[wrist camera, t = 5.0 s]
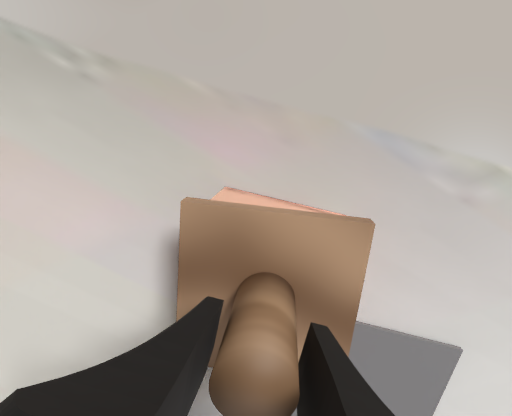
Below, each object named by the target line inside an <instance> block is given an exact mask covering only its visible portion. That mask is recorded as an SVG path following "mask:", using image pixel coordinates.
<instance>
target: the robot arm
mask: <svg viewBox="0 0 512 416" xmlns="http://www.w3.org/2000/svg"><path fill="white" fill-rule="evenodd" d="M223 302H224V300H222V299H218V298H214V297H210V296H207V297H206V298H204V299H203V300H202V301H201V302H200V303H199V304H198V305H197V306H195V307H194V308H193V309H192V310H191V311H189V312H188V313H187V314H186V315H184V316H183V317H182V318H181V319H179V320H178V321H177V322H175V323H174V324H173V325H171V326H170V327H168V328H167V329H165V330H164V331H162V332H161V333H159V334H158V335H156V336H155V337H153V338H152V339H150V340H148V341H147V342H145V343H143V344H141V345H139V346H138V347H136V348H134V349H132V350H130V351H128V352H126V353H124V354H122V355H119V356H117V357H115V358H113V359H110V360H108V361H106V362H104V363H101V364H99V365H96V366H93V367H91V368H88V369H85V370H82V371H80V372H77V373H74V374H71V375H68V376H64V377H61V378H58V379H54V380H50V381H47V382H43V383H39V384H36V385H32V386H28V387H24V388H20V389H17V390H16V391H14V392H13V393H12V394H11V395H10V396H8V397H7V398H6V399H5V400H4V401H2V402H1V403H0V416H187V415H188V412H189V410H190V408H191V406H192V403H193V401H194V399H195V396H196V394H197V392H198V389H199V387H200V385H201V382H202V380H203V378H204V375H205V373H206V370H207V367H208V364H209V361H210V357H211V354H212V351H213V348H214V344H215V339H216V335H217V330H218V325H219V321H220V316H221V311H222V307H223ZM298 370H299V392H300V395H299V402H298V405H297V416H395V415H394V414H393V413H392V411H391V410H390V409H389V408H388V407H387V406H386V405H385V404H384V403H383V402H382V400H381V399H380V398H379V397H378V396H377V394H376V393H375V392H374V391H373V390H372V388H371V387H370V386H369V385H368V383H367V382H366V381H365V379H364V378H363V377H362V376H361V374H360V373H359V372H358V370H357V369H356V367H355V366H354V365H353V363H352V362H351V360H350V359H349V358H348V356H347V355H346V353H345V352H344V350H343V349H342V347H341V346H340V344H339V343H338V341H337V340H336V338H335V337H334V335H333V334H332V332H331V331H330V329H329V328H328V327H327V326H324V325H321V324H317V323H313V322H311V323H310V326H309V330H308V333H307V336H306V339H305V343H304V346H303V349H302V353H301V356H300V359H299V362H298Z"/></svg>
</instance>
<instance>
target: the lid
mask: <svg viewBox="0 0 512 416" xmlns="http://www.w3.org/2000/svg"><path fill="white" fill-rule="evenodd" d="M374 228H375V223H374V222H373V221H372V220H371V219H368V218H360V217H351V216H343V215H334V214H326V213H317V212H309V211H300V210H292V209H283V208H275V207H266V206H258V205H249V204H241V203H232V202H224V201H215V200H207V199H198V198H190V197H186V198H185V199H183V200H182V201H181V210H180V238H179V265H178V293H177V320H176V322H177V321H178V320H179V319H181V318H182V317H183V316H184V315H186V314H187V313H188V312H189V311H191V310H192V309H193V308H194V307H195V306H197V305H198V304H199V303H200V302H201V301H202V300H203V299H204V298H206V297H207V296H210V297H214V298H218V299H222V300H224V302H223V307H222V311H221V316H220V321H219V325H218V330H217V335H216V339H215V344H214V348H213V351H212V354H211V357H210V361H209V364H208V367H213V370H212V373H211V376H210V380H209V393H210V397H211V400H212V402H213V404H214V405H215V407H216V408H217V410H218V411H219V412H220V413H221V414H222V415H223V416H291V415H292V414H293V413H294V411H295V409H296V407H297V405H298V402H299V395H300V392H299V370H298V362H299V359H300V356H301V353H302V349H303V346H304V343H305V339H306V336H307V333H308V330H309V326H310V323H311V322H313V323H317V324H321V325H324V326H327V327H328V328H329V329H330V331H331V332H332V334H333V335H334V337H335V338H336V340H337V341H338V343H339V344H340V346H341V347H342V349H343V350H344V352H345V353H346V355H347V356H348V357H349V352H350V347H351V342H352V337H353V332H354V327H355V322H356V317H357V312H358V307H359V302H360V297H361V292H362V288H363V283H364V278H365V273H366V268H367V263H368V258H369V253H370V248H371V243H372V238H373V233H374Z"/></svg>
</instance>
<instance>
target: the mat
mask: <svg viewBox="0 0 512 416" xmlns="http://www.w3.org/2000/svg"><path fill="white" fill-rule="evenodd" d="M462 352H463V350H462V349H461V348H460V347H457V346H453V345H449V344H445V343H441V342H437V341H433V340H429V339H425V338H421V337H417V336H413V335H409V334H405V333H401V332H398V331H394V330H390V329H386V328H382V327H378V326H374V325H370V324H366V323H362V322H358V321H356V322H355V327H354V332H353V337H352V342H351V347H350V352H349V357H348V358H349V359H350V360H351V362H352V363H353V365H354V366H355V367H356V369H357V370H358V372H359V373H360V374H361V376H362V377H363V378H364V379H365V381H366V382H367V383H368V385H369V386H370V387H371V388H372V390H373V391H374V392H375V393H376V394H377V396H378V397H379V398H380V399H381V400H382V402H383V403H384V404H385V405H386V406H387V407H388V408H389V409H390V410H391V411H392V413H393V414H394V415H395V416H433V414H434V411H435V409H436V407H437V405H438V403H439V401H440V399H441V396H442V394H443V392H444V390H445V388H446V386H447V384H448V381H449V379H450V377H451V375H452V373H453V371H454V369H455V367H456V364H457V362H458V360H459V358H460V356H461V354H462ZM291 416H297V407H296V409H295V411H294V413H293V414H292V415H291Z"/></svg>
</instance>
